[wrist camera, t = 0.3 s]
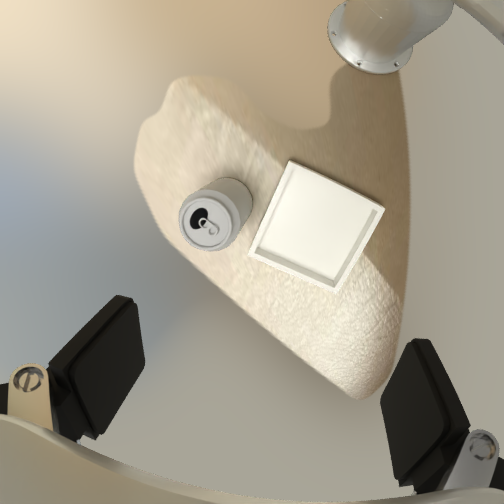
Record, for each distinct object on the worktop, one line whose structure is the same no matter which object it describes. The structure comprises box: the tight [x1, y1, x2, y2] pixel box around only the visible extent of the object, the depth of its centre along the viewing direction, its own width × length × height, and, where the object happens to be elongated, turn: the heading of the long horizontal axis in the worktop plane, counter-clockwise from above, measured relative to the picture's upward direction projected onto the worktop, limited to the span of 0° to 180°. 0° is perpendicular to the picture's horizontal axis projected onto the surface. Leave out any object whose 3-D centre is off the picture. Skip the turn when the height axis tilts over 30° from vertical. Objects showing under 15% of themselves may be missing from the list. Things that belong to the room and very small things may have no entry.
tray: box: [247, 160, 385, 294], centre depth 42 cm, size 15×15×3 cm
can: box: [179, 178, 253, 251], centre depth 38 cm, size 8×8×12 cm
